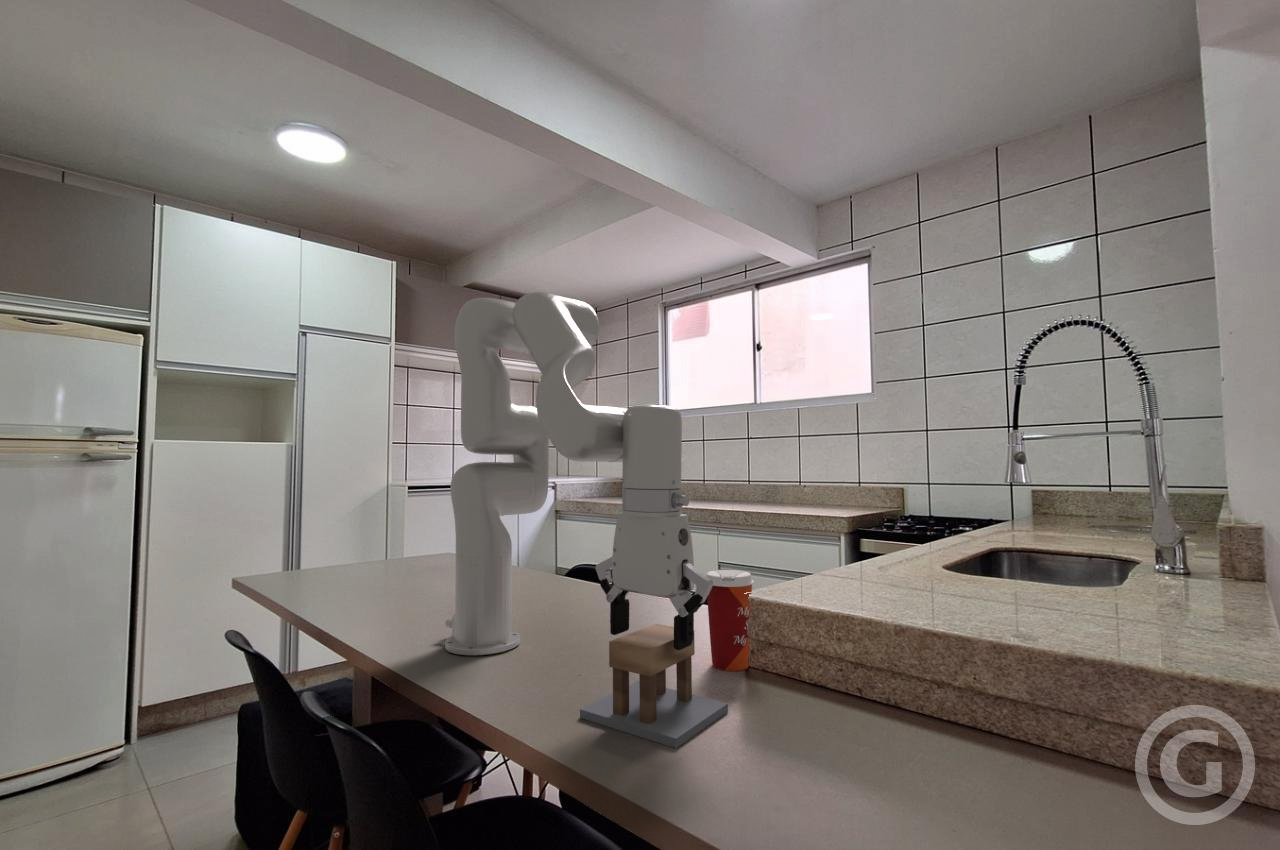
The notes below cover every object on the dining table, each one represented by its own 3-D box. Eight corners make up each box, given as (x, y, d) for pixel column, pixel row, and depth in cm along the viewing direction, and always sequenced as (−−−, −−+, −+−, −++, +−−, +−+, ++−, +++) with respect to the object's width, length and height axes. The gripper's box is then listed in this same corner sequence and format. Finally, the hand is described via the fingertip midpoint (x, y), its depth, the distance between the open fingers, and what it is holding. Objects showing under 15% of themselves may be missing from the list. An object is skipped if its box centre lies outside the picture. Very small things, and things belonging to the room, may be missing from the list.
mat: (579, 717, 74) (579, 709, 74) (637, 688, 83) (637, 680, 83) (676, 748, 65) (676, 738, 65) (728, 711, 75) (727, 703, 75)
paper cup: (755, 675, 88) (753, 578, 89) (703, 672, 90) (701, 576, 91) (756, 658, 96) (754, 569, 97) (707, 656, 97) (706, 568, 98)
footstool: (656, 688, 80) (655, 623, 81) (695, 698, 77) (694, 630, 77) (609, 713, 72) (609, 641, 73) (650, 726, 69) (649, 649, 69)
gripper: (726, 504, 74) (725, 645, 73) (616, 497, 84) (614, 621, 83) (695, 508, 68) (694, 662, 67) (580, 500, 78) (578, 634, 77)
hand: (650, 639), depth 75 cm, fingers open, 9 cm apart
